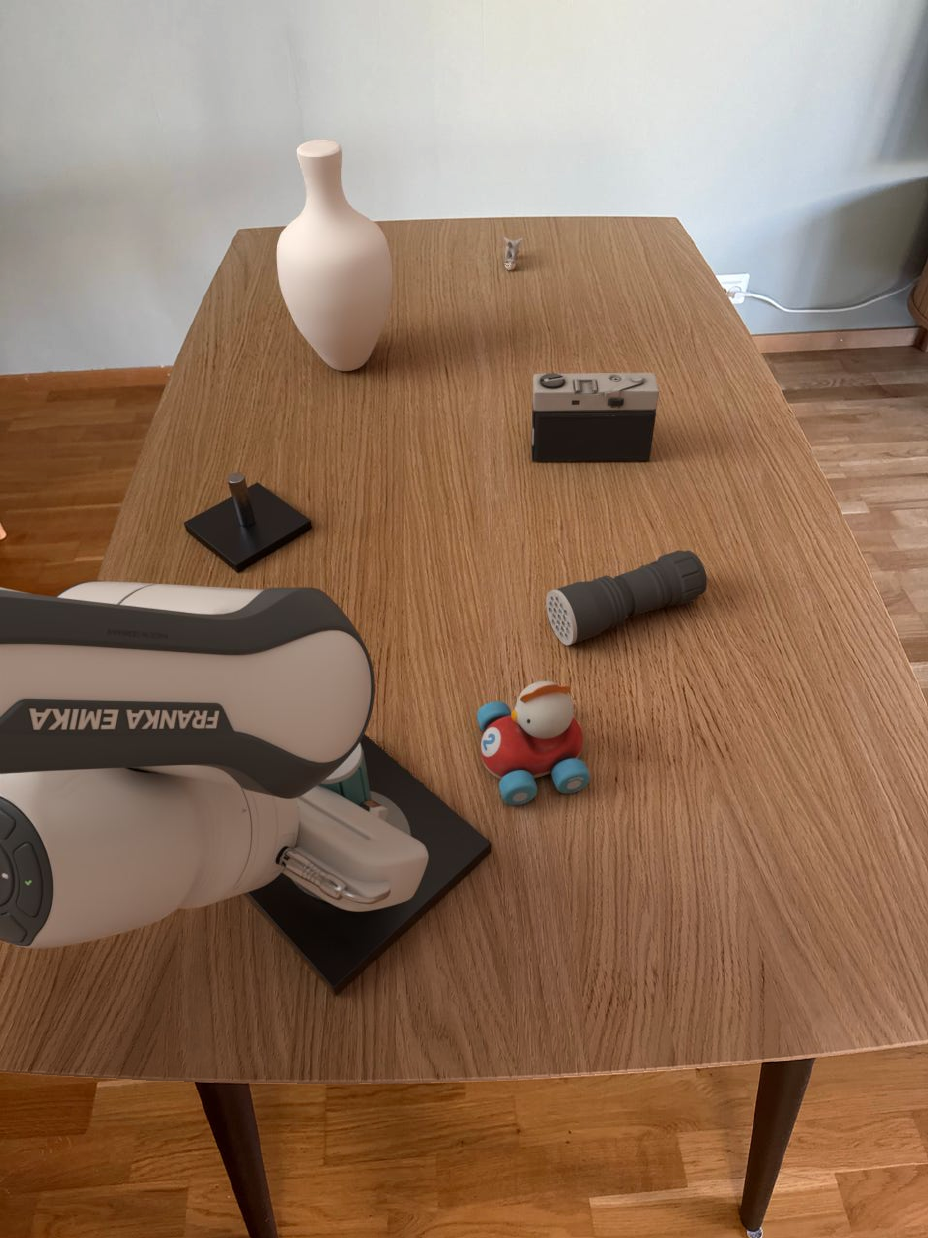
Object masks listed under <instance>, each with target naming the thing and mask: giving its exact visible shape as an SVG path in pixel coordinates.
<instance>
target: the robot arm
mask: <svg viewBox="0 0 928 1238" xmlns="http://www.w3.org/2000/svg"><path fill="white" fill-rule="evenodd" d="M375 695H376V679H375V671H374V665H373V662H372V658H371V655H370V652H369V650H368V648H367V646H366V644H365V642H364V640H363V638H362V636H361V634H360V633H359V631H358V629H357V628H356V627H355V625H354V624H353V623H352V621H351V619H350V618H349V617H348V616H347V615H346V614H345V612H344V610H342V608H341V607H340V606H339V605H338V604H337V603H336V602H335V601H334V599H332V597H331V596H329V594H327V593H326V592H325V591H323V590H321V589H319V588H317V587H307V586H306V587H305V586H304V587H303V586H302V587H301V586H300V587H268V588H265V589H258V588H242V587H241V588H239V587H223V586H206V585H190V584H189V585H188V584H174V583H173V584H172V583H171V584H170V583H152V582H151V583H150V582H136V581H109V580H108V581H106V580H100V579H99V580H95V579H94V580H87V581H86V580H85V581H82V582H79V583H76V584H73V585H71V586H69V587H67V588H66V589H63V590H62V591H61V592H59V593H57V594H56V595H55V596H53V595H52V596H51V595H44V594H38V593H37V594H35V593H31V592H25V591H20V590H15V589H11V588H6V587H1V586H0V941H3V942H5V943H7V944H10V945H12V946H15V947H20V948H23V949H24V948H25V949H37V950H38V949H39V950H40V949H54V948H60V947H67V946H73V945H79V944H84V943H89V942H93V941H98V940H101V939H102V940H103V939H106V938H110V937H114V936H117V935H121V934H125V933H128V932H131V931H135V930H139V929H141V928H144V927H147V926H149V925H152V924H155V923H158V922H159V921H161V920H163V919H165V918H166V917H168V916H169V915H171V914H172V913H174V912H175V911H177V909H179V910H193V909H199V908H204V907H207V906H211V905H214V904H217V903H219V902H222V901H225V900H228V899H232V898H234V897H238V896H240V895H244V893H247V892H250V891H253V890H256V889H259V888H261V887H263V886H265V885H267V884H268V883H270V882H271V881H273V880H274V879H275V878H276V877H277V876H278V875H279V874H280V873H281V872H282V873H283V874H285V875H287V876H288V877H290V878H291V879H293V880H294V881H296V882H297V883H299V884H300V885H302V886H304V887H305V888H307V889H308V890H310V891H311V892H313V893H314V894H316V895H317V896H319V897H321V898H322V899H324V900H325V901H327V902H329V903H330V904H332V905H334V906H336V907H339V908H341V909H344V910H348V911H355V912H362V911H371V910H376V909H381V908H385V907H389V906H393V905H396V904H399V903H402V902H405V901H407V900H409V899H410V898H412V896H413V895H414V894H415V892H416V890H417V888H418V886H419V884H420V881H421V879H422V877H423V874H424V872H425V869H426V866H427V863H428V859H429V855H428V852H427V849H426V847H425V845H424V844H423V843H421V842H420V841H418V840H417V839H415V838H413V837H411V836H409V835H408V834H406V833H404V832H403V831H401V830H399V829H397V828H396V827H394V826H392V825H391V824H389V823H387V822H385V819H386V816H387V814H388V809H387V808H385V807H384V806H382V805H380V804H379V803H377V802H375V801H373V800H369V801H364V802H361V805H360V806H358V805H356V804H355V803H353V802H351V801H350V800H348V799H346V798H344V797H343V796H341V795H339V794H338V793H336V792H334V791H332V790H330V789H327V788H325V787H322V786H318V785H319V784H320V783H321V782H322V781H324V780H325V779H326V778H327V777H329V776H330V775H331V774H332V773H333V772H334V771H335V770H337V769H338V768H339V767H340V766H341V765H342V764H343V763H344V762H345V760H346V759H347V758H348V757H349V756H350V755H351V754H352V752H353V751H354V750H355V749H356V747H357V746H358V744H359V743H360V741H361V740H362V738H363V736H364V734H365V735H366V732H367V729H368V726H369V724H370V721H371V718H372V714H373V710H374V703H375Z"/></svg>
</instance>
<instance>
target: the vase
mask: <svg viewBox="0 0 928 1238" xmlns="http://www.w3.org/2000/svg"><path fill="white" fill-rule="evenodd" d="M296 158H297V161H298V163H299V167H300V170H301V173H302V177H303V180H304V184H305V192H306V196H305V197H306V198H305V204H304V208H303V210H302V211H301V213H300V214H299V215H298V216H297V217H296V218H294V219H293V220H292V221H291V222H290V223H288V225H287V226H286V227H285V228H284V229H283V230H282V231H281V232H280V234H279V237H278V241H277V245H276V267H277V278H278V283H279V289H280V291H281V294H282V297H283V300H284V303H285V305H286V308H287V311H288V313H289V315H290V317H291V318H292V320H293V322H294V324H295V326H296V328H297V329H298V331H299V332H300V335H302V336H303V338H304V339H305V341H306V342H307V343H308V344H309V345H310V346H311V348H312V349H313V350H314V352H316V353H317V355H318V356H319V357H320V358H321V360H322V361H323V362H324V363H325V364H326V365H327V366H329V367H330V368H332V369H334V370H336V371H341V372H352V371H355V370H358V369H361V367H363V366H364V365H366V363H367V362H368V360H369V358H370V357H371V356H372V353H373V351H374V349H375V347H376V345H377V343H378V341H379V338H380V337H381V334H382V332H383V329H384V327H385V325H386V322H387V319H388V316H389V311H390V307H391V299H392V292H393V283H394V280H393V279H394V278H393V277H394V274H393V264H392V257H391V253H390V248H389V243H388V241H387V238H386V236H385V234H384V232H383V231H382V229H381V227H380V226H379V225H378V224H377V223H376V222H374V221H373V220H371V219H370V218H369V217H367V216H366V215H364V214H363V213H361V212H359V211H358V210H356V209H355V208H354V207H352V206H351V205H350V204H349V202H348V200H347V198H346V195H345V192H344V189H343V181H342V166H343V165H342V164H343V150H342V145H341V144H339V143H338V142H337V141H335V140H330V139H314V140H309V141H305V142H303V143H301V144H299V145H298V147H297V149H296Z"/></svg>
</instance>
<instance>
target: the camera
mask: <svg viewBox="0 0 928 1238" xmlns="http://www.w3.org/2000/svg"><path fill="white" fill-rule="evenodd" d="M532 376H533V377H532V412H531V413H532V414H531V443H530V444H531V445H530V446H531V462H534V463H536V462H537V463H538V462H542V463H543V462H649V461H650V459H651V454H652V453H651V452H652V447H653V440H654V432H655V424H656V417H657V410H658V409H657V408H658V402H659V395H660V389H659V385H658V380H657V377H656V374H655V373H653V372H608V373H607V372H595V373H594V372H590V373H589V372H588V373H587V372H586V373H585V372H583V373H581V372H579V373H535V374H533V375H532Z"/></svg>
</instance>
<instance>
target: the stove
mask: <svg viewBox="0 0 928 1238" xmlns="http://www.w3.org/2000/svg"><path fill="white" fill-rule="evenodd" d="M360 744H361V746H362V749H363V751H364V757H365V763H366V769H367V775H368V782H369V788H370V794H371V800H373V801H375V802H377V803H379V804H380V805H382V806H384V807H385V808H387V809H388V814H387V816H386V819H385V822H387V823H389V824H391V825H392V826H394V827H396V828H397V829H399V830H401V831H403V832H404V833H406V834H408V835H409V836H411V837H413V838H415V839H417V840H418V841H420V842H421V843H423V844H424V845H425V847H426V849H427V852H428V855H429V859H428V863H427V866H426V869H425V872H424V874H423V877H422V879H421V881H420V884H419V886H418V888H417V890H416V892H415V894H414V895H413V896H412V898H410V899H409V900H407V901H405V902H402V903H399V904H396V905H393V906H389V907H385V908H381V909H376V910H371V911H362V912H355V911H348V910H344V909H341V908H339V907H336V906H334V905H332V904H330V903H329V902H327V901H325V900H324V899H322V898H321V897H319V896H317V895H316V894H314V893H313V892H311V891H310V890H308V889H307V888H305V887H304V886H302V885H300V884H299V883H297V882H296V881H294V880H293V879H291V878H290V877H288V876H287V875H285V874H283V873H282V872H281V873H280V874H279V875H278V876H277V877H276V878H275V879H274V880H273V881H271V882H270V883H268V884H267V885H265V886H263V887H261V888H259V889H256V890H253V891H250V892H247V893H244V894H243V895H244V897H245V898H246V899H247V900H248V901H249V902H250V903H251V904H252V906H254V908H255V909H256V910H257V911H258V912H259V913H260V915H261V916H262V917H263V918H264V919H265V920H266V921H267V922H268V924H270V926H271V927H272V928H273V929H274V930H275V931H276V932H277V934H279V935H280V937H281V938H282V939H283V940H284V941H285V942H286V943H287V944H288V945H289V947H290V948H291V949H292V951H293V952H295V954H297V956H298V957H299V958H300V959H301V960H302V961H303V963H305V965H306V966H307V967H308V968H309V969H310V970H311V971H312V972H313V973H314V974H315V976H316V977H317V978H318V979H319V980H320V981H321V982H322V983H323V985H324V986H325V987H326V988H327V989H328V991H330V992H331V994H332V995H333V996H334V997H337V996H339V995H340V993H342V992H343V991H344V990H345V989H346V988H347V987H348V986H349V985H350V984H351V983H353V982H354V981H355V980H356V979H357V978H358V977H359V976H360V975H361V974H362V973H363V972H364V971H366V969H368V967H370V966H371V965H372V964H373V963H374V962H375V961H377V959H379V958H380V957H381V956H382V955H383V954H384V953H385V952H386V951H387V950H388V949H389V948H390V947H391V946H393V944H395V943H396V942H397V941H398V940H399V939H400V938H401V937H403V935H405V933H406V932H407V931H409V930H410V929H411V928H412V927H413V926H414V925H416V923H417V922H418V921H420V920H421V919H422V918H423V917H424V916H425V915H426V914H427V913H428V912H429V911H430V910H431V909H432V908H434V907H435V906H436V905H437V904H438V903H439V902H440V901H441V900H442V899H444V897H445V896H447V894H449V893H450V892H451V891H452V890H453V889H454V888H455V887H456V886H457V885H459V884H460V883H461V882H462V881H463V880H464V879H465V878H466V877H467V876H468V875H469V874H470V873H471V872H473V871H474V870H475V868H477V867H478V866H479V865H480V864H481V863H483V861H485V860H486V858H488V857H489V856H490V855H491V854H492V850H493V849H492V846H493V844H492V842H491V841H489V839H487V838H486V836H484V835H483V834H482V833H481V832H479V831H478V830H477V829H476V828H475V827H474V826H472V825H471V824H470V823H469V822H468V821H467V820H465V818H463V817H462V816H461V815H460V814H458V813H457V812H456V811H455V809H453V808H451V807H450V806H449V805H448V804H447V803H446V802H444V800H442V799H441V798H440V797H439V796H438V795H436V794H435V793H434V792H433V791H432V790H431V789H430V788H428V787H427V786H426V785H425V784H424V783H422V782H421V781H420V780H419V779H418V778H417V777H416V776H414V775H413V774H412V773H411V772H410V771H408V769H406V768H405V767H404V766H403V765H402V764H400V762H398V761H397V760H396V759H394V758H393V756H392V755H390V754H389V753H387V751H385V750H384V749H383V748H382V747H381V746H379V745H378V744H377V743H376V742H375V741H373V740H372V739H371V737H369V736H368V735H366V733H365V734H364V736H363V738H362V740H361V741H360Z"/></svg>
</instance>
